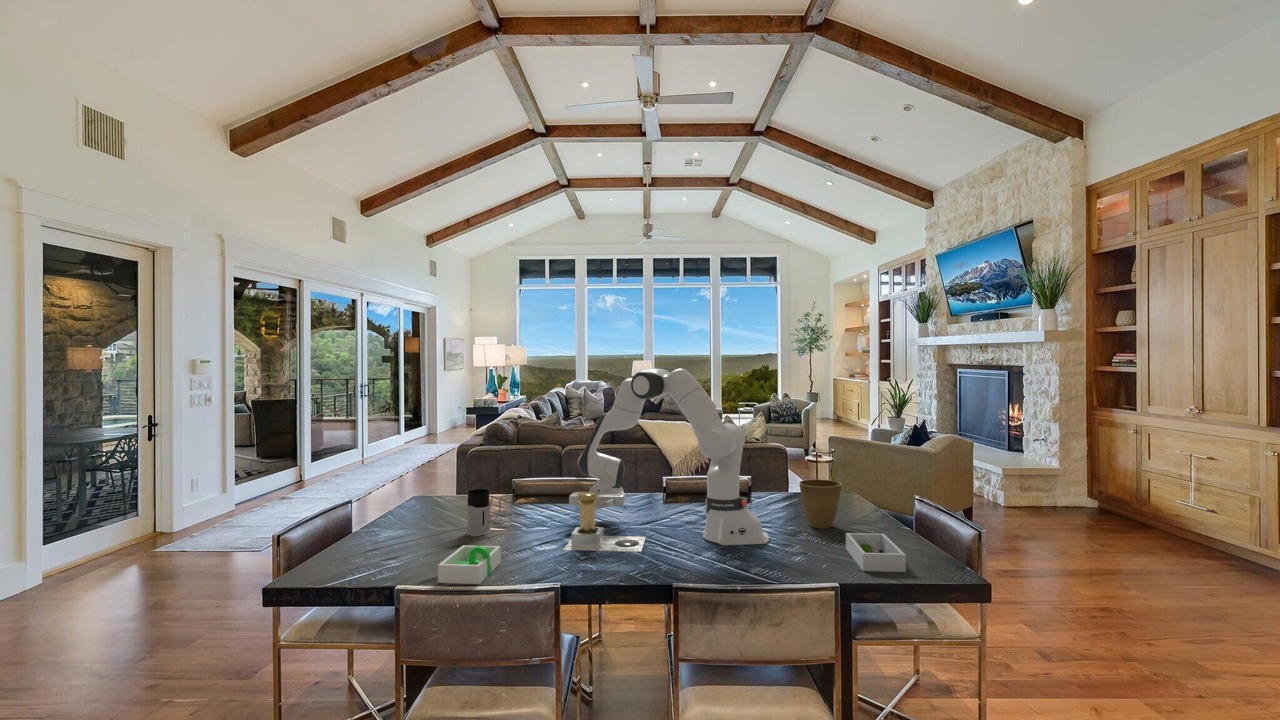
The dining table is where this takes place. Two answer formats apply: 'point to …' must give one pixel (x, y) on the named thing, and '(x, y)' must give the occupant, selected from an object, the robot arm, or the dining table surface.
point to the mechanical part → (475, 561)
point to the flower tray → (882, 562)
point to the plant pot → (820, 501)
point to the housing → (603, 541)
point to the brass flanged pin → (587, 512)
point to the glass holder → (479, 512)
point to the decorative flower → (867, 546)
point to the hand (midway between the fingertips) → (593, 504)
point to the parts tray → (467, 566)
